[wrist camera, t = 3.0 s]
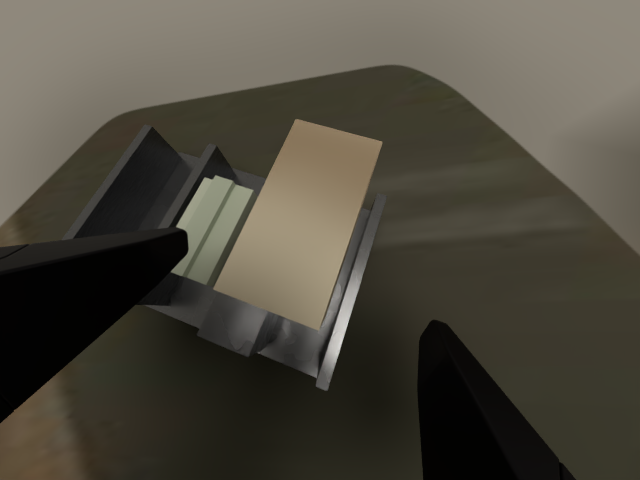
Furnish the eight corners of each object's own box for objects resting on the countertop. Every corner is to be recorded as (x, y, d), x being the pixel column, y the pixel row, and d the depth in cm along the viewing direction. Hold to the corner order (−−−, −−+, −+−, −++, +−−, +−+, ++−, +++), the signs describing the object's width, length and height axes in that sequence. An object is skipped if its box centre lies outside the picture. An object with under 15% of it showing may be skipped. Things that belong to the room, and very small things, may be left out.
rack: (325, 376, 15) (323, 402, 11) (107, 285, 17) (34, 277, 13) (374, 217, 18) (389, 189, 14) (185, 159, 21) (148, 119, 16)
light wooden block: (325, 318, 15) (318, 330, 5) (290, 304, 16) (212, 289, 5) (348, 249, 17) (382, 141, 6) (315, 238, 17) (296, 119, 6)
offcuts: (235, 291, 16) (201, 284, 12) (190, 274, 16) (143, 261, 12) (269, 216, 18) (251, 186, 13) (228, 202, 18) (197, 169, 14)
